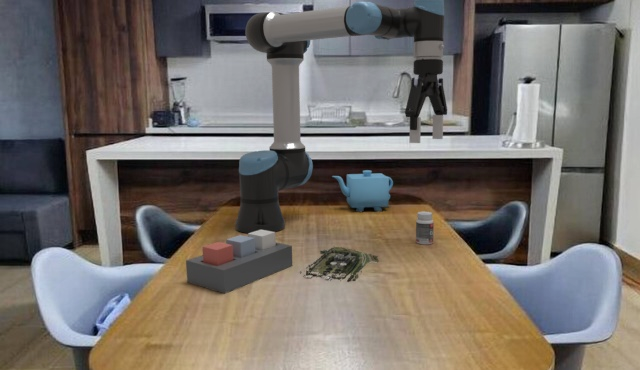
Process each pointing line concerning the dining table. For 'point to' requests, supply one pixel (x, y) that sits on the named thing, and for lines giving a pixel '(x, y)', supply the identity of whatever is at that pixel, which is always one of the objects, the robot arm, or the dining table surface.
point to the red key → (217, 253)
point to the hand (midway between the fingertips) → (426, 140)
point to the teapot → (366, 190)
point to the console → (239, 268)
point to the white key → (263, 239)
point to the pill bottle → (424, 228)
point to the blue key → (242, 245)
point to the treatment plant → (340, 263)
